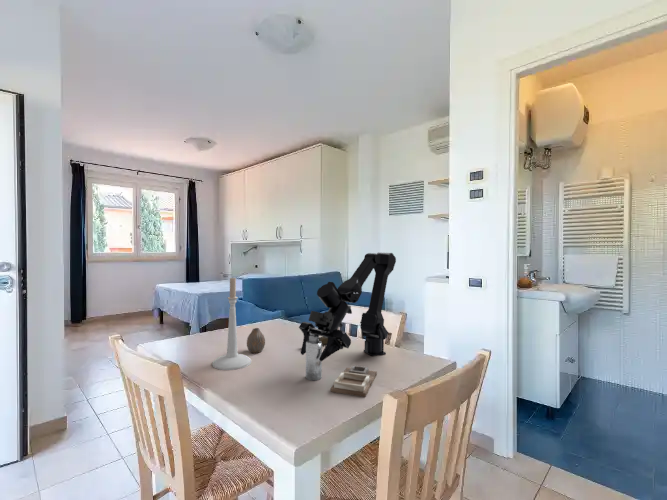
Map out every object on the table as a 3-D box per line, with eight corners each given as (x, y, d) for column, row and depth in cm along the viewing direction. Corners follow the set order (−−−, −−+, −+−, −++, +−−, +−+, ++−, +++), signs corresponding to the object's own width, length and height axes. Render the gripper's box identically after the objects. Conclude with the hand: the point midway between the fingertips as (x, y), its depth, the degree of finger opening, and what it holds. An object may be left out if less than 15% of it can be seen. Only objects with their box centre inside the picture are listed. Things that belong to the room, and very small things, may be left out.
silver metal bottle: (318, 373, 110) (318, 333, 110) (323, 379, 105) (324, 337, 105) (303, 375, 108) (303, 334, 108) (308, 381, 103) (309, 338, 103)
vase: (242, 352, 129) (243, 329, 129) (253, 347, 136) (253, 325, 135) (258, 355, 127) (258, 331, 126) (268, 350, 133) (268, 327, 133)
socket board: (346, 370, 112) (346, 363, 112) (376, 374, 109) (376, 366, 109) (330, 391, 96) (330, 382, 96) (365, 397, 93) (365, 387, 93)
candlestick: (256, 358, 123) (257, 275, 123) (241, 371, 111) (242, 279, 110) (223, 356, 125) (224, 274, 125) (205, 368, 113) (205, 278, 112)
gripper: (303, 297, 115) (277, 336, 107) (345, 305, 103) (319, 349, 95) (319, 317, 121) (295, 355, 113) (361, 326, 109) (338, 370, 101)
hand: (310, 357), depth 105 cm, fingers open, 8 cm apart
